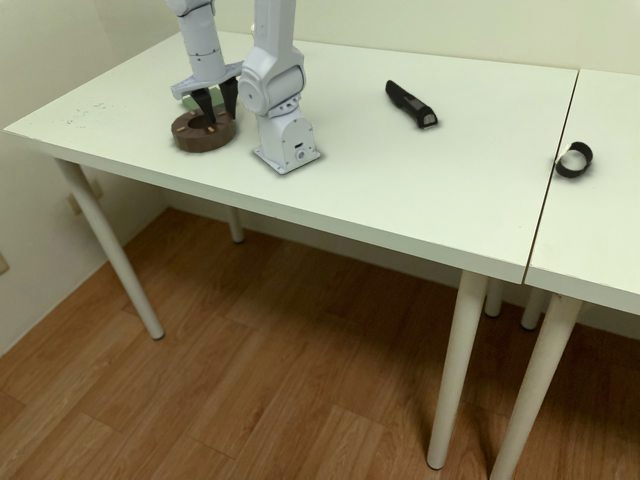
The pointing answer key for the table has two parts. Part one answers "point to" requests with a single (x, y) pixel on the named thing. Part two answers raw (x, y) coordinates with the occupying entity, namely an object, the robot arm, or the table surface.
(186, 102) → the rack
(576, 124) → the table surface
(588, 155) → the watch
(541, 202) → the table surface
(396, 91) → the electric trimmer
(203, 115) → the clock ring
